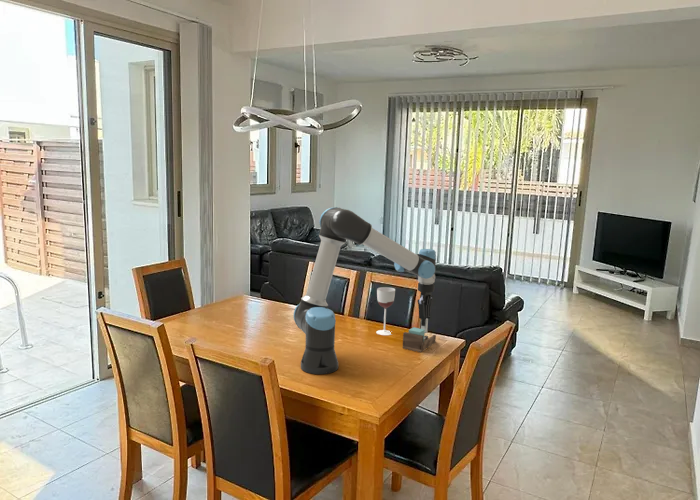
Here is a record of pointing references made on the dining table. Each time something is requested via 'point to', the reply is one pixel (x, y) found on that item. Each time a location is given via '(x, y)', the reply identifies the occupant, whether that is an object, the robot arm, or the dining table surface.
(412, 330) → the block
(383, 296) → the wineglass
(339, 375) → the dining table surface
